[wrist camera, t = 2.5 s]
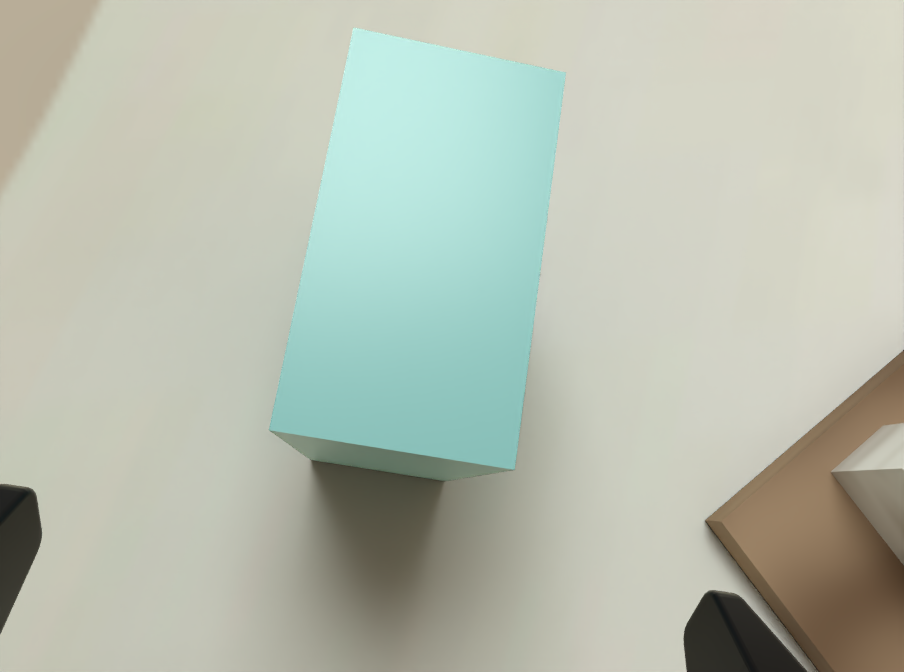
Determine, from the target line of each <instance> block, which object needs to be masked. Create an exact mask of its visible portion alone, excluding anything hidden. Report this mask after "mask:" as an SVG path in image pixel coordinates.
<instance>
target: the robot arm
mask: <svg viewBox="0 0 904 672" xmlns="http://www.w3.org/2000/svg"><path fill="white" fill-rule="evenodd" d="M41 539H42V528H41V521H40V515H39V508H38V502H37V496H36V493H35V492H34V490H33V489H31V488H29V487H22V486H16V485H9V484H0V634H1V632H2V629H3V627H4V625H5V623H6V621H7V618H8V616H9V614H10V612H11V610H12V607H13V605H14V603H15V601H16V598H17V596H18V594H19V592H20V590H21V587H22V585H23V583H24V581H25V579H26V576H27V574H28V572H29V570H30V568H31V565H32V563H33V561H34V559H35V556H36V554H37V552H38V550H39V547H40V543H41ZM684 650H685V659H686V669H687V672H807V671H806V670H805V668H804V667H803V666H802V665H801V664H800V663H799V662H798V660H797V659H796V658H795V657H794V656H793V655H792V654H791V653H790V651H789V650H788V649H787V648H786V647H785V646H784V645H783V644H782V642H781V641H780V640H779V639H778V638H777V637H776V636H775V635H774V633H773V632H772V631H771V630H770V629H769V628H768V627H767V625H766V624H765V623H764V622H763V621H762V620H761V619H760V618H759V616H758V615H757V614H756V613H755V612H754V611H753V610H752V609H751V607H750V606H749V605H748V604H747V603H746V602H745V601H744V600H743V599H742V598H741V597H740V596H739V595H737V594H734V593H729V592H722V591H716V590H710V591H708V592H707V593H705V594H704V596H703V597H702V599H701V601H700V602H699V604H698V606H697V607H696V609H695V611H694V613H693V614H692V616H691V618H690V619H689V621H688V623H687V625H686V627H685V631H684Z"/></svg>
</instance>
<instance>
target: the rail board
mask: <svg viewBox="0 0 904 672" xmlns="http://www.w3.org/2000/svg"><path fill="white" fill-rule="evenodd" d="M705 521H706V522H707V523H708V525H709V526H710V527H711V529H712V530H713V531H714V533H715V534H716V535H717V537H718V538H719V539H720V541H721V542H722V543H723V545H724V546H725V547H726V549H727V550H728V551H729V553H730V554H731V555H732V557H733V558H734V559H735V561H736V562H737V563H738V565H739V566H740V567H741V569H742V570H743V571H744V572H745V574H746V575H747V576H748V578H749V579H750V580H751V582H752V583H753V584H754V586H755V587H756V588H757V590H758V591H759V592H760V594H761V595H762V596H763V598H764V599H765V600H766V602H767V603H768V604H769V606H770V607H771V608H772V610H773V611H774V612H775V614H776V615H777V616H778V618H779V619H780V620H781V622H782V623H783V624H784V625H785V627H786V628H787V629H788V631H789V632H790V633H791V635H792V636H793V637H794V639H795V640H796V641H797V643H798V644H799V645H800V647H801V648H802V649H803V651H804V652H805V653H806V655H807V656H808V657H809V659H810V660H811V661H812V663H813V664H814V665H815V667H816V668H817V669H818V671H819V672H904V350H903V351H902V352H901V353H900V354H899V355H898V356H896V357H895V358H894V359H893V360H892V361H891V362H889V363H888V364H887V365H886V366H885V367H884V368H882V369H881V370H880V371H879V372H878V373H877V374H875V375H874V376H873V377H872V378H871V379H870V380H868V381H867V382H866V383H865V384H864V385H863V386H861V387H860V388H859V389H858V390H857V391H856V392H854V393H853V394H852V395H851V396H850V397H849V398H847V399H846V400H845V401H844V402H843V403H842V404H840V405H839V406H838V407H837V408H836V409H835V410H833V411H832V412H831V413H830V414H829V415H828V416H826V417H825V418H824V419H823V420H822V421H821V422H819V423H818V424H817V425H816V426H815V427H814V428H812V429H811V430H810V431H809V432H808V433H807V434H805V435H804V436H803V437H802V438H801V439H800V440H798V441H797V442H796V443H795V444H794V445H793V446H791V447H790V448H789V449H788V450H787V451H786V452H784V453H783V454H782V455H781V456H780V457H779V458H777V459H776V460H775V461H774V462H773V463H772V464H770V465H769V466H768V467H767V468H766V469H765V470H763V471H762V472H761V473H760V474H759V475H758V476H756V477H755V478H754V479H753V480H752V481H751V482H749V483H748V484H747V485H746V486H745V487H744V488H742V489H741V490H740V491H739V492H738V493H737V494H735V495H734V496H733V497H732V498H731V499H730V500H728V501H727V502H726V503H725V504H724V505H723V506H721V507H720V508H719V509H718V510H717V511H716V512H714V513H713V514H712V515H711V516H710V517H709V518H707V519H706V520H705Z"/></svg>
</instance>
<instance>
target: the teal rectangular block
mask: <svg viewBox="0 0 904 672" xmlns="http://www.w3.org/2000/svg"><path fill="white" fill-rule="evenodd" d="M565 76H566V73H565V72H561V71H556V70H551V69H546V68H542V67H537V66H532V65H528V64H523V63H518V62H513V61H509V60H504V59H499V58H495V57H490V56H485V55H481V54H476V53H471V52H466V51H462V50H457V49H452V48H448V47H443V46H438V45H434V44H429V43H424V42H419V41H415V40H410V39H405V38H401V37H396V36H391V35H387V34H382V33H377V32H372V31H368V30H363V29H358V28H353V33H352V38H351V42H350V47H349V52H348V57H347V61H346V66H345V71H344V76H343V80H342V85H341V90H340V95H339V99H338V104H337V109H336V114H335V118H334V123H333V128H332V133H331V137H330V142H329V147H328V152H327V156H326V161H325V166H324V171H323V176H322V180H321V185H320V190H319V195H318V199H317V204H316V209H315V214H314V218H313V223H312V228H311V233H310V237H309V242H308V247H307V252H306V256H305V261H304V266H303V271H302V275H301V280H300V285H299V290H298V294H297V299H296V304H295V309H294V313H293V318H292V323H291V328H290V332H289V337H288V342H287V347H286V352H285V356H284V361H283V366H282V371H281V375H280V380H279V385H278V390H277V394H276V399H275V404H274V409H273V413H272V418H271V423H270V428H269V431H271V432H272V433H274V434H275V435H276V436H278V437H279V438H281V439H282V440H283V441H285V442H286V443H288V444H289V445H291V446H292V447H293V448H295V449H296V450H298V451H299V452H300V453H302V454H303V455H305V456H306V457H307V458H309V459H310V460H315V461H321V462H327V463H334V464H340V465H346V466H352V467H359V468H365V469H371V470H378V471H384V472H390V473H396V474H403V475H409V476H415V477H422V478H428V479H434V480H440V481H449V480H455V479H461V478H467V477H474V476H480V475H486V474H492V473H499V472H505V471H511V470H515V463H516V455H517V448H518V440H519V432H520V424H521V417H522V409H523V401H524V393H525V386H526V378H527V370H528V362H529V355H530V347H531V339H532V331H533V324H534V316H535V308H536V300H537V293H538V285H539V277H540V269H541V262H542V254H543V246H544V238H545V231H546V223H547V215H548V207H549V200H550V192H551V184H552V176H553V169H554V161H555V153H556V145H557V138H558V130H559V122H560V114H561V107H562V99H563V91H564V83H565Z"/></svg>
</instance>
